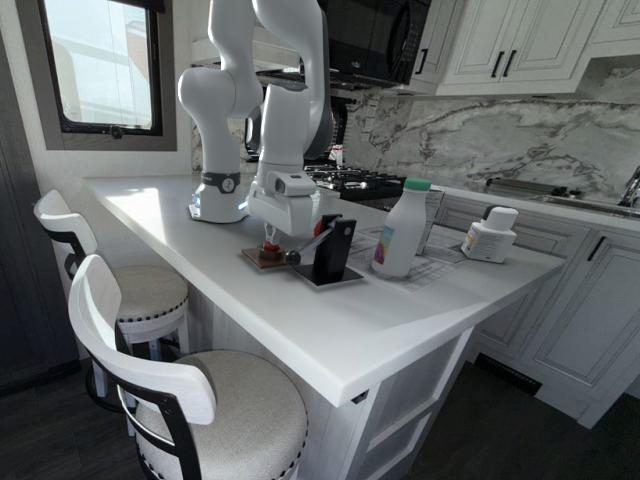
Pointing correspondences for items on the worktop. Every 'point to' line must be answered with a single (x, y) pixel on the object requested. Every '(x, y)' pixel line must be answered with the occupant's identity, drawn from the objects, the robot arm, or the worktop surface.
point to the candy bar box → (430, 213)
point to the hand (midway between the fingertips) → (272, 243)
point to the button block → (266, 256)
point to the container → (491, 235)
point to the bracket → (332, 254)
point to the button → (270, 246)
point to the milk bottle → (402, 230)
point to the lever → (309, 245)
